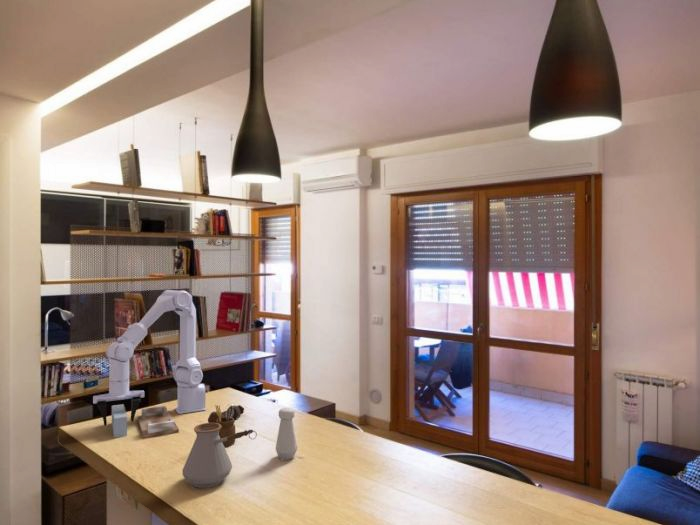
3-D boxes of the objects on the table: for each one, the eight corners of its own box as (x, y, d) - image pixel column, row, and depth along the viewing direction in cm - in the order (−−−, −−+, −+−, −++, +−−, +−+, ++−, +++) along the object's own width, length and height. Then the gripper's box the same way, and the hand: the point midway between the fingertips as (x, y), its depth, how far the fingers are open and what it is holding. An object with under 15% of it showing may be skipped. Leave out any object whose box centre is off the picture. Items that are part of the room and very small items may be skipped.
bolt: (242, 420, 161) (216, 433, 146) (232, 411, 162) (205, 423, 148) (249, 406, 160) (224, 418, 146) (239, 398, 161) (212, 408, 147)
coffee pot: (171, 483, 109) (172, 420, 109) (210, 466, 119) (211, 408, 119) (234, 509, 97) (234, 438, 98) (271, 487, 107) (271, 423, 107)
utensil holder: (239, 441, 135) (239, 401, 136) (224, 449, 130) (225, 406, 130) (224, 438, 138) (224, 398, 138) (209, 445, 133) (209, 403, 133)
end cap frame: (168, 414, 161) (168, 404, 161) (178, 432, 143) (178, 421, 143) (137, 419, 156) (137, 409, 156) (143, 438, 138) (143, 426, 138)
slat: (123, 422, 153) (123, 404, 154) (126, 436, 140) (126, 416, 141) (111, 423, 152) (111, 405, 152) (114, 438, 139) (114, 418, 139)
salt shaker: (293, 462, 121) (293, 412, 121) (272, 460, 122) (272, 411, 122) (299, 453, 127) (300, 406, 127) (280, 452, 128) (280, 405, 128)
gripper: (93, 385, 139) (93, 430, 139) (145, 379, 146) (145, 422, 146) (93, 380, 145) (92, 423, 145) (143, 375, 153) (142, 416, 152)
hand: (118, 422), depth 146 cm, fingers open, 7 cm apart
